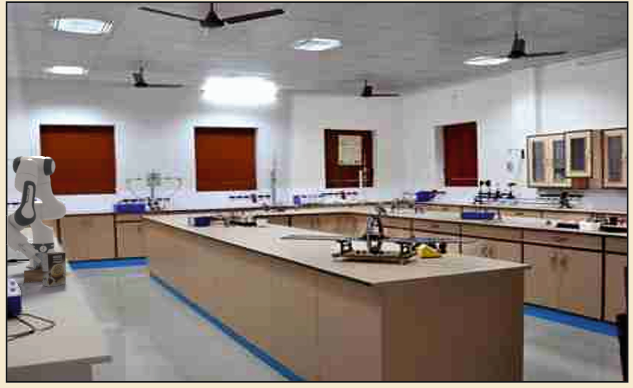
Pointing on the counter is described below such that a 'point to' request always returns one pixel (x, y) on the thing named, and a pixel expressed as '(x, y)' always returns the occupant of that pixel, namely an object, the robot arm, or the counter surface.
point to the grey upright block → (35, 264)
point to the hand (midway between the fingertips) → (40, 260)
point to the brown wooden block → (33, 276)
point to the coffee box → (54, 269)
